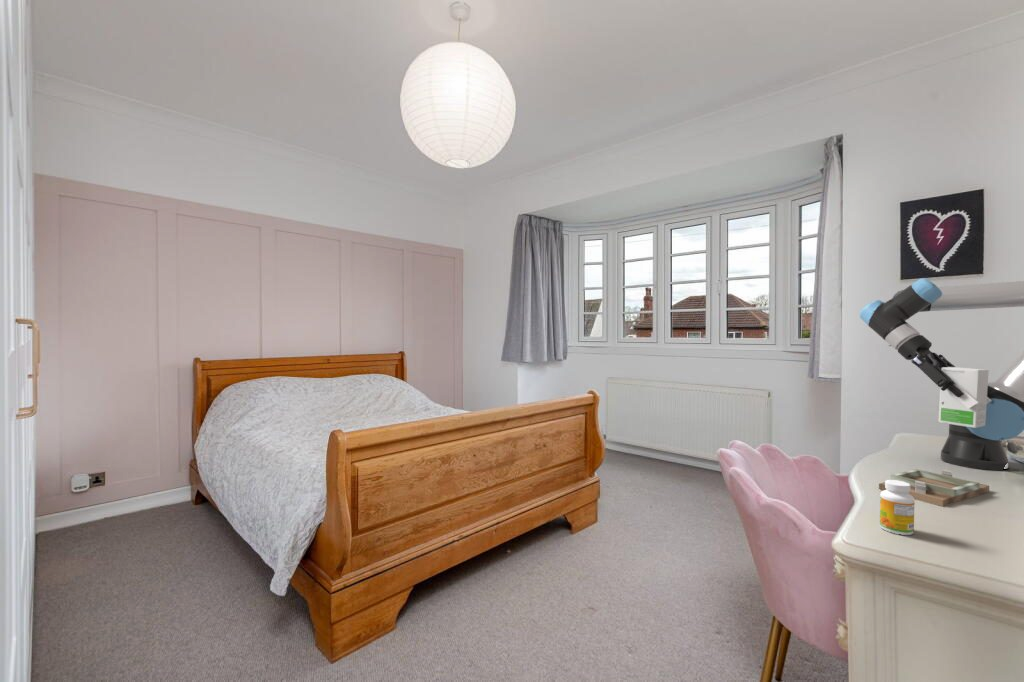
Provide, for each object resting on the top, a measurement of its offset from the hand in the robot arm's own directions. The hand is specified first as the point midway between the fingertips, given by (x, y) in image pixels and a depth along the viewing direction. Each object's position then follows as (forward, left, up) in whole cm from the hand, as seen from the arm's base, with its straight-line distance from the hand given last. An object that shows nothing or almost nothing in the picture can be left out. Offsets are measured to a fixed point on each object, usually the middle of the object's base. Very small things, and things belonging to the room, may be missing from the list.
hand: (980, 404), depth 128 cm
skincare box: (0, -3, -6) cm, 7 cm away
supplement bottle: (+56, +7, -21) cm, 61 cm away
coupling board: (+19, -2, -21) cm, 28 cm away
